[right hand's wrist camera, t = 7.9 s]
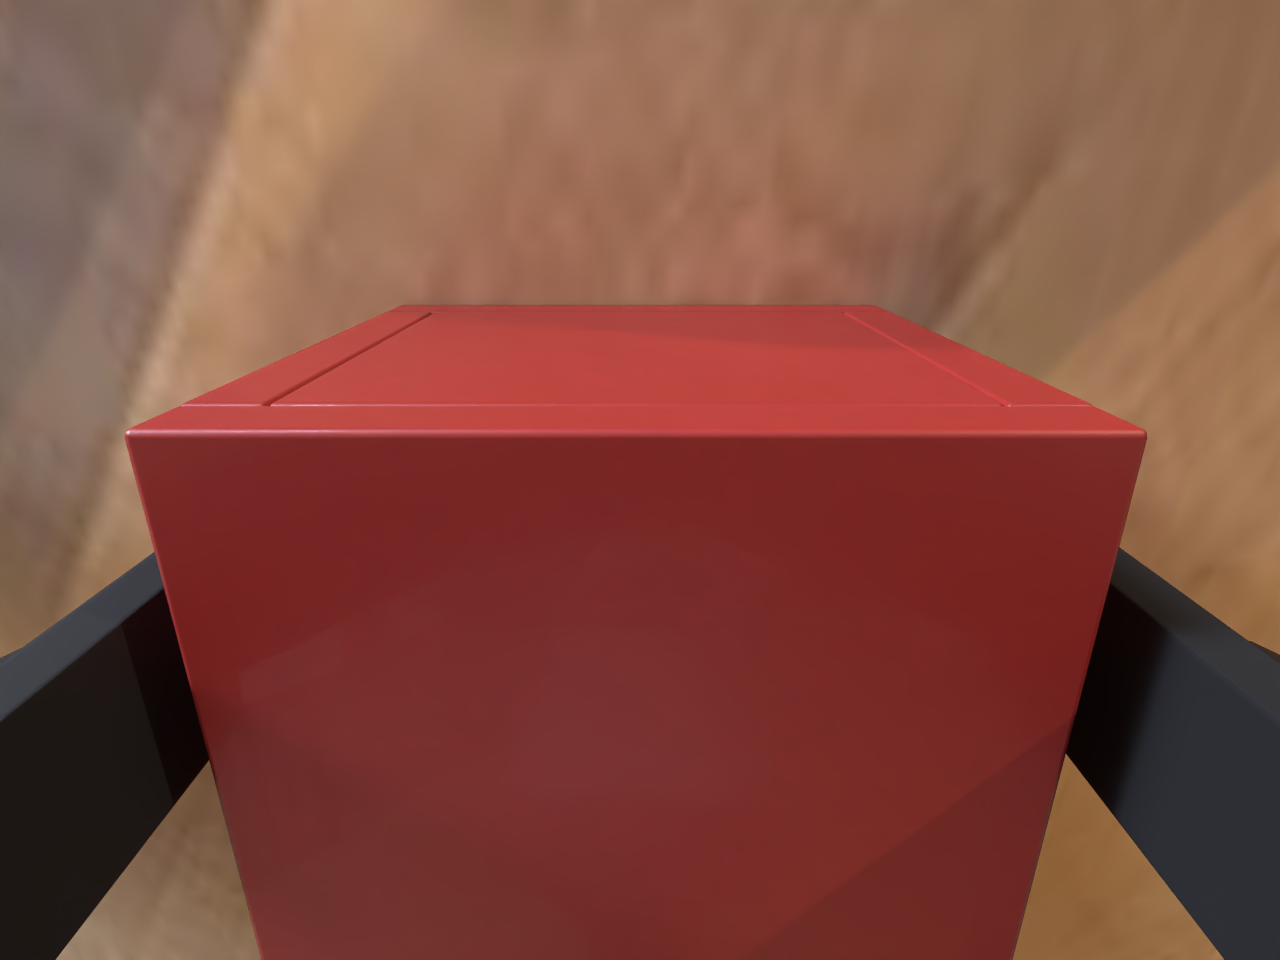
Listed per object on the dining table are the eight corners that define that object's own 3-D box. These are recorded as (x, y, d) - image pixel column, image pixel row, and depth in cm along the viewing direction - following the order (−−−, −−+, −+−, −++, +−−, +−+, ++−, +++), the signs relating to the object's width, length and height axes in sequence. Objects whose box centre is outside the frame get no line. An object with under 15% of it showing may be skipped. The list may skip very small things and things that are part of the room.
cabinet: (821, 790, 21) (950, 1211, 12) (455, 790, 21) (324, 1210, 12) (876, 304, 16) (1152, 430, 7) (400, 304, 16) (118, 429, 7)
